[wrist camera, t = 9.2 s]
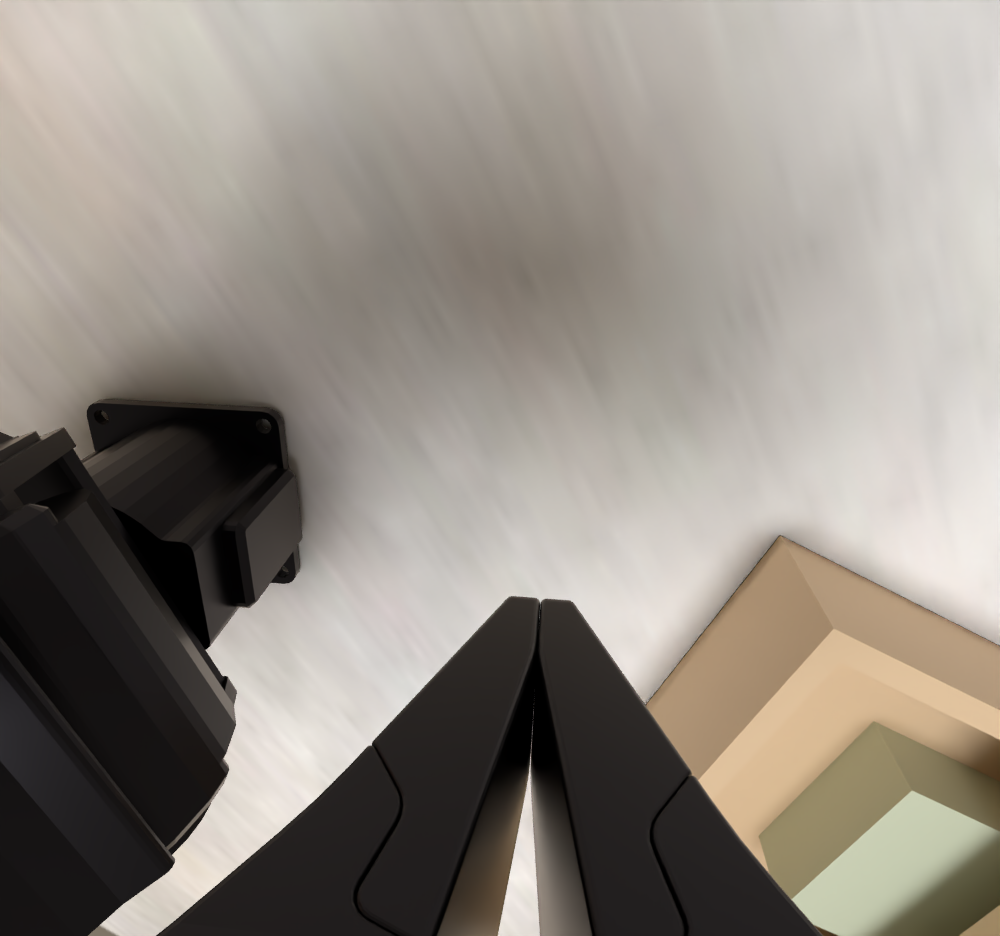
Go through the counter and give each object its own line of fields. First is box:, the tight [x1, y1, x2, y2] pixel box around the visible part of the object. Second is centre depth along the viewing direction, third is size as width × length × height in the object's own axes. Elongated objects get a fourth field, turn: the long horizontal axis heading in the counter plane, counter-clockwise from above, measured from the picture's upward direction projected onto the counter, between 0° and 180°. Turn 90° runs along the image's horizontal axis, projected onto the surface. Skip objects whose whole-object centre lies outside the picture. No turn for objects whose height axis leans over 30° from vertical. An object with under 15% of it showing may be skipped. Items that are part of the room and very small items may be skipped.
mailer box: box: [646, 536, 1000, 936], centre depth 24 cm, size 20×16×5 cm
